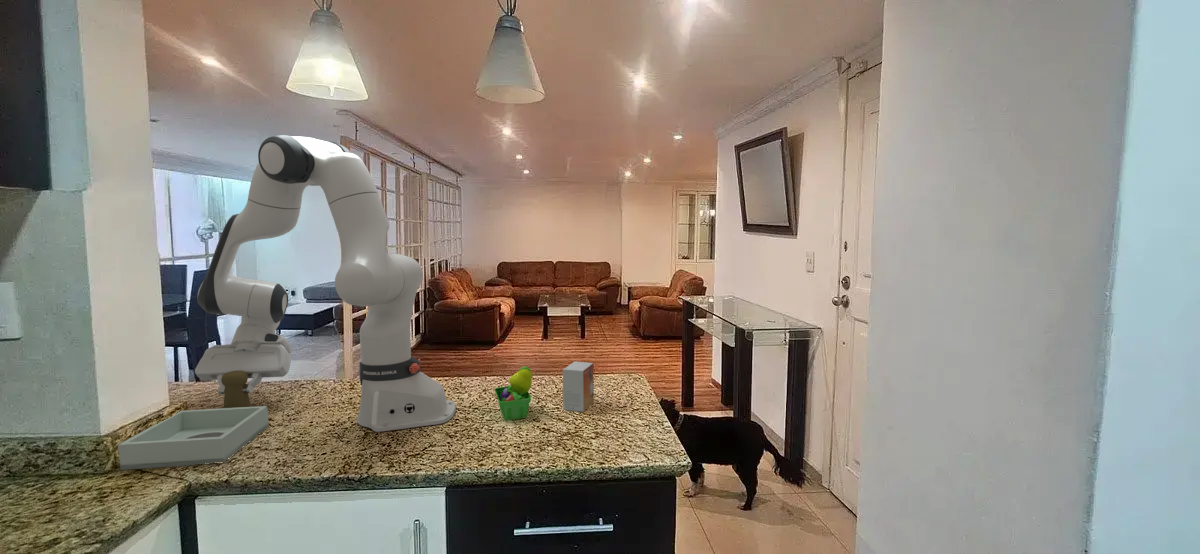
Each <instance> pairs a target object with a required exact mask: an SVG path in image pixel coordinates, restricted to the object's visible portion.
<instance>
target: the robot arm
mask: <svg viewBox="0 0 1200 554" xmlns="http://www.w3.org/2000/svg"><path fill="white" fill-rule="evenodd" d="M257 155H258V156H257V157H258V160H257V161H258V162H257V163H256V167H255V169H254V172H253V173H252V179H251V180H250V186H249V190H248V195H247V197H248V198H247V201H246V204H245V206H244V208H243V209H242V211H240V212H239V213H236V214H233V215H231V216H230V218H228V220H227V222H226V223H225V225H224V227H223V229H222V231H221V234H220V237H219V240H218V242H217V244H216V247H215V250H214V253H213V255H212V258H211V261H210V264H209V266H208V270H207V271H206V274H205V276H204V279H203V281H202V283H201V284H200V286H199V288H198V292H197V304H198V305H199V306H200V307H201V309H203V310H204V311H205V312H206V313H208V314H209V315H228V316H229V315H231V316H239V317H241V318H240V320H241V321H240V324H239V325H238V326H237V327H236V330H235V332H234V335H233V338H232V340H231V342H230V344H214V345H213V346H210V347H208V348H207V349H206V350H205V351H204V352H203V353H204V354H203V355H202V357H201V358H200V359H199V361H198V362H197V365H196V366H195V369H194V373H195V375H196V376H197V377H198V378H199V379H200V381H201V380H202V381H217V383H218V386H219V387H218V388H217V393H218V395H221V396H222V395H223V396H224V395H225V386H224V385H223V384H222V376H223V375H224V374H225V373H227V372H231V371H238V370H239V371H245V372H246V373H247V375H248V379H250V381H249V382H247V383H246V384H244V388H243V392H244V393H248V394H252V393H253V390H254V388H256V386H257V385H258V384H260V383H261V381H262V379H263V378H265V379H266V378H282V377H285V376H286V375H287V374H288V373H289V370H290V369H291V361H292V357H291V352H292V347H291V344H290V343H289V341H288V340H287V338H285V337H284V335H281V334H277V333H276V331H277V329H278V327H279V326H280V323H281V321H282V320H283V319H284V318H285V315H286V311H287V309H288V304H289V294H288V292H287V290H286V289H285V288H284V287H283V286H282V285H281V284H280V283H276V282H273V281H268V280H261V279H254V278H253V279H251V278H245V277H239V276H235V275H233V274H232V273H231V269H232V267H233V264H234V261H235V258H236V257H237V253H238V252H239V248H240V246H241V245H242V244H245V243H248V242H251V241H252V242H253V241H257V240H268V239H274V238H278V237H281V236H284V235H286V234H289V232H291V231H292V230H294V228H295V227H296V225H297V223H298V221H299V217H300V213H301V209H302V208H301V206H302V200H303V194H304V190H305V189H306V188H307V187H308V186H310V187H313V186H315V187H321V189H322V191H323V193H324V195H325V199H326V201H327V205H328V208H329V210H330V214H331V216H332V219H333V223H334V224H335V228H336V230H337V233H338V238H339V242H340V255H341V257H340V265H339V269H338V270H337V272H336V274H335V278H334V287H335V291H336V293H337V295H338V297H339V298H340V299H341V300H342V301H343V302H344V303H346V304H348V305H350V306H355V307H368V311H367V314H366V316H365V319H364V321H363V322H362V324H361V326H360V329H359V346H360V348H359V349H360V361H359V363H358V364H359V366H358V375H359V377H358V378H359V383H360V386H361V393H360V403H359V408H358V409H359V411H358V413H357V418H356V423H357V424H358V425H360V426H361V427H366V428H369V429H371V430H372V431H374V432H377V433H381V432H387V431H395V430H403V429H410V428H411V429H412V428H419V427H425V426H426V427H427V426H433V425H435V426H436V425H440V424H445V423H447V422H448V421H449V420H450V421H451V419H452V418H453V417H454V415H455V414H456V410H457V409H456V403H455V402H454V401H452V400H450V399H447V397H446V396H447V395H446V393H445V390H444V387H443V385H442V384H441V383H440V382H438V381H436V380H435V379H433V378H432V377H430V376H428V375H426V374H425V373H423V372H422V371H421V358H420V357H419V358H418V359H417V357H416V358H415V357H414V356H413V355H412V349H411V347H412V346H411V323H412V315H413V309H414V305H415V300H416V295H417V293H418V290H419V288H420V286H421V284H422V282H423V280H424V279H423V278H424V273H423V269H422V266H421V265H420V263H419V262H418V261H417V260H416V259H415V258H413V257H411V256H408V255H405V254H404V255H403V254H400V253H392V254H389V252H388V249H387V247H388V246H387V233H388V231H389V230H390V223H389V219H388V217H387V214H386V211H385V208H384V206H383V203H382V199H381V197H380V193H379V191H378V188H377V185H376V184H375V181H374V179H373V176H372V175H371V173H370V171H369V170H368V167H367V166H366V164H365V163H364V160H362V158H360V156H359V155H357V154H356V153H352V152H351V151H350V149H348V148H347V147H346V146H344V145H342V144H340V143H337V142H334V141H326V140H322V139H317V138H314V137H310V136H309V137H308V136H295V135H294V136H293V135H292V136H291V135H288V134H280V135H272V136H269V137H267V138H265V139H264V140H263V141H262V142H261V144H260V146H259V149H258V154H257Z"/></svg>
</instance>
